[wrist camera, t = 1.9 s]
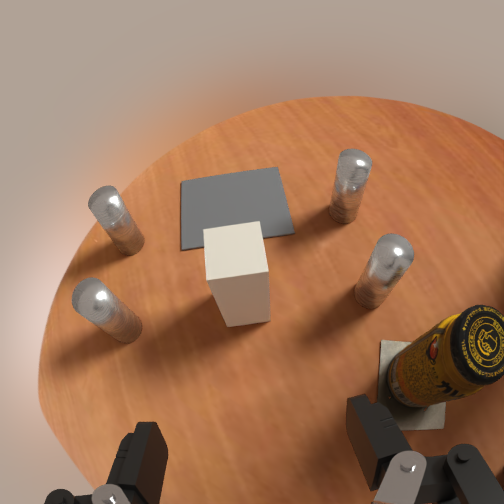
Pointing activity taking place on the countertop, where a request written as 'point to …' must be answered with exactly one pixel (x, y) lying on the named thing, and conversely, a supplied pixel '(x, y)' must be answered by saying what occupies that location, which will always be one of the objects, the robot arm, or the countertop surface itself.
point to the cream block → (238, 272)
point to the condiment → (441, 367)
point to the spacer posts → (341, 210)
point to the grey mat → (234, 204)
